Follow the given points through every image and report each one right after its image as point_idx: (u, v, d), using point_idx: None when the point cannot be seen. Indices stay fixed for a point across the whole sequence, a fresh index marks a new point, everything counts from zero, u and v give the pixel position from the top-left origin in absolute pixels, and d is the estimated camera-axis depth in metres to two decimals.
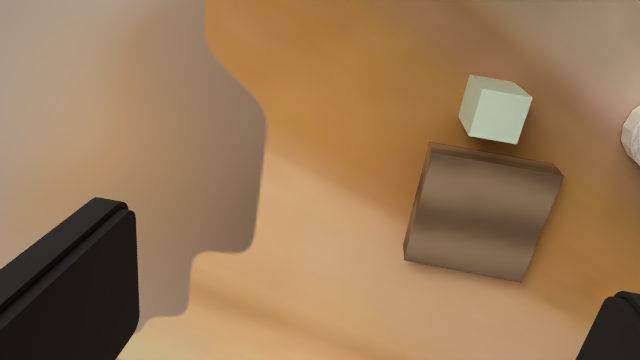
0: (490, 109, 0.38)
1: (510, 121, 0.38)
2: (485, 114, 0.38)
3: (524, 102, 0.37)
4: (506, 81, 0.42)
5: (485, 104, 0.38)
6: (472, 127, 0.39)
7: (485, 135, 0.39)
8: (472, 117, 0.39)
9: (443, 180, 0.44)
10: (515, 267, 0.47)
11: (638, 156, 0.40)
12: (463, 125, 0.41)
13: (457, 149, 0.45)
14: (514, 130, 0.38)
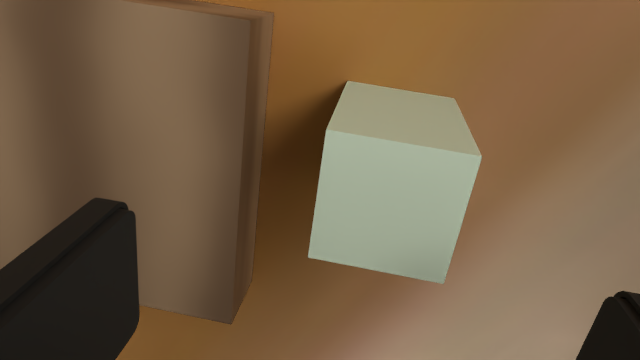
0: (412, 183, 0.12)
1: (373, 238, 0.13)
2: (396, 172, 0.12)
3: (430, 266, 0.13)
4: None
5: (431, 169, 0.12)
6: (354, 138, 0.12)
7: (330, 175, 0.13)
8: (382, 132, 0.12)
9: (171, 61, 0.15)
10: None
11: None
12: (339, 102, 0.15)
13: (262, 90, 0.17)
14: (348, 249, 0.13)
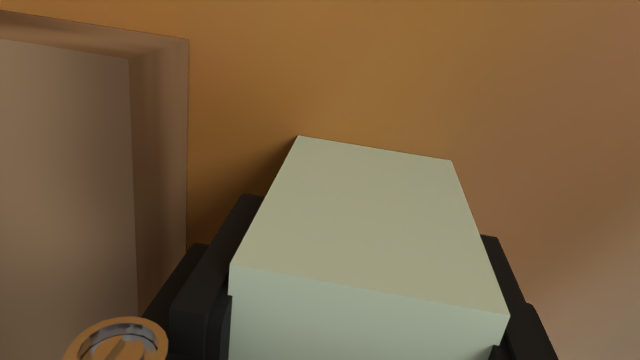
0: (386, 352, 0.07)
1: None
2: (357, 335, 0.07)
3: None
4: None
5: (419, 332, 0.07)
6: (281, 279, 0.07)
7: (243, 335, 0.07)
8: (332, 260, 0.07)
9: (13, 119, 0.10)
10: None
11: None
12: (274, 184, 0.09)
13: (175, 150, 0.12)
14: None
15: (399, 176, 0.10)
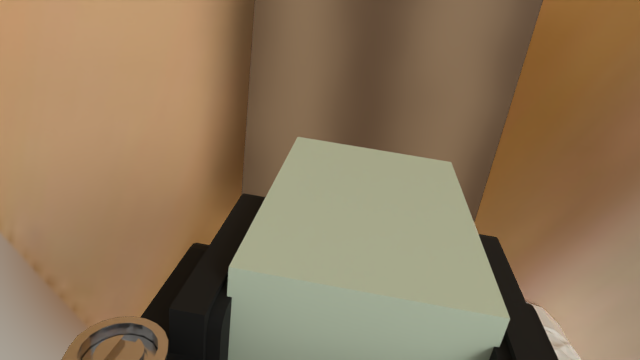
0: (385, 355, 0.07)
1: None
2: (357, 337, 0.07)
3: None
4: None
5: (418, 335, 0.07)
6: (280, 282, 0.07)
7: (242, 338, 0.07)
8: (332, 263, 0.07)
9: (471, 31, 0.20)
10: None
11: None
12: (273, 186, 0.09)
13: None
14: None
15: (399, 178, 0.10)
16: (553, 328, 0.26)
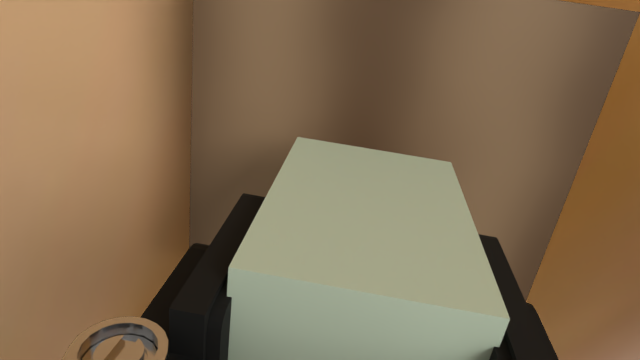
0: (385, 356, 0.07)
1: None
2: (356, 338, 0.07)
3: None
4: None
5: (418, 334, 0.07)
6: (280, 282, 0.07)
7: (242, 339, 0.07)
8: (331, 263, 0.07)
9: (523, 59, 0.13)
10: None
11: None
12: (273, 186, 0.09)
13: None
14: None
15: (399, 178, 0.10)
16: None
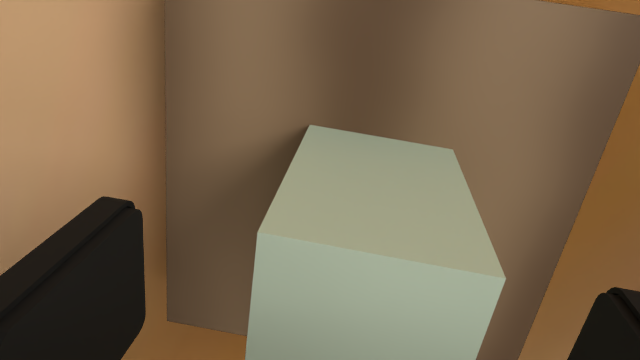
0: (395, 313, 0.08)
1: None
2: (369, 296, 0.08)
3: None
4: None
5: (425, 293, 0.08)
6: (303, 245, 0.07)
7: (267, 298, 0.08)
8: (347, 230, 0.08)
9: (528, 70, 0.12)
10: (211, 304, 0.16)
11: None
12: (291, 167, 0.10)
13: None
14: None
15: (405, 162, 0.11)
16: None
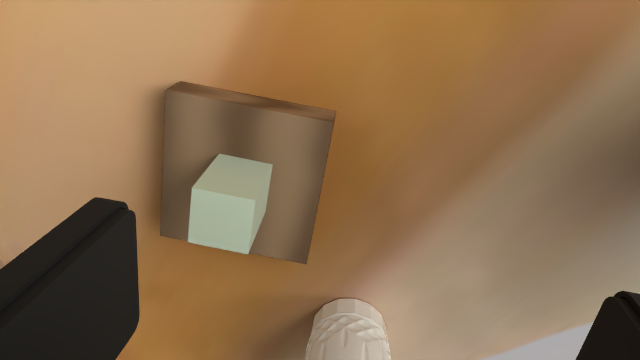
0: (229, 210, 0.29)
1: (215, 233, 0.30)
2: (222, 206, 0.29)
3: (241, 246, 0.30)
4: (265, 205, 0.35)
5: (236, 204, 0.29)
6: (203, 191, 0.29)
7: (195, 206, 0.29)
8: (217, 188, 0.29)
9: (295, 137, 0.33)
10: (180, 227, 0.37)
11: (334, 325, 0.39)
12: (206, 170, 0.31)
13: None
14: (205, 238, 0.30)
15: (249, 169, 0.33)
16: (370, 317, 0.40)
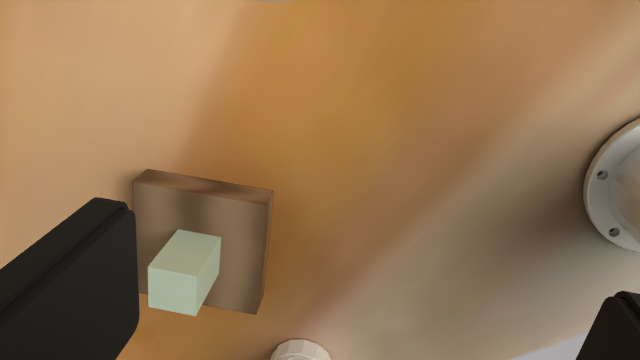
0: (177, 283, 0.37)
1: (169, 300, 0.38)
2: (172, 280, 0.37)
3: (189, 310, 0.38)
4: (217, 269, 0.43)
5: (182, 279, 0.37)
6: (157, 269, 0.37)
7: (151, 280, 0.37)
8: (168, 266, 0.37)
9: (236, 216, 0.41)
10: None
11: None
12: (163, 247, 0.39)
13: (269, 220, 0.43)
14: (161, 304, 0.38)
15: (199, 243, 0.40)
16: (315, 357, 0.47)
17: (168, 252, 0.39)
